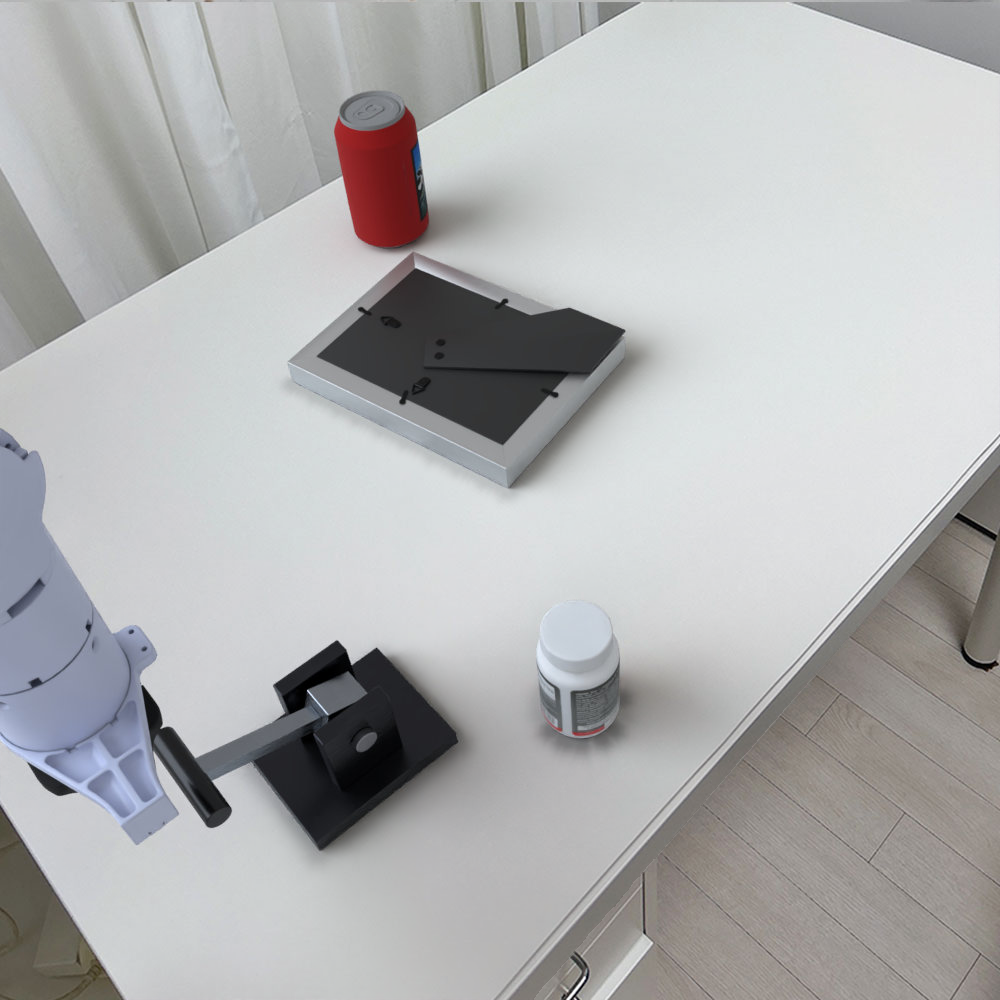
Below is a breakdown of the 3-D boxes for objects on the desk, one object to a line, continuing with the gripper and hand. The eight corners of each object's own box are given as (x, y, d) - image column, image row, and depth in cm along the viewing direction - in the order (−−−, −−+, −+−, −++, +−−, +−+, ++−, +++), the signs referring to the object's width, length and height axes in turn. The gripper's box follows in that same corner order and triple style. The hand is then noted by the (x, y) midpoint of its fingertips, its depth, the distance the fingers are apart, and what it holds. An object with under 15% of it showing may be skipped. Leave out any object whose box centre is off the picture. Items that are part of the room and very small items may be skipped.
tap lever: (205, 838, 55) (207, 809, 54) (148, 757, 58) (148, 727, 57) (384, 746, 62) (390, 718, 60) (324, 677, 65) (329, 649, 64)
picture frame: (625, 357, 86) (416, 271, 94) (625, 329, 83) (411, 243, 92) (508, 488, 78) (292, 381, 86) (505, 461, 76) (284, 354, 84)
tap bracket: (319, 851, 62) (293, 799, 57) (245, 754, 66) (214, 697, 61) (458, 742, 65) (446, 683, 60) (379, 657, 70) (361, 595, 64)
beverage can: (446, 227, 98) (430, 103, 89) (390, 264, 95) (368, 140, 86) (394, 199, 101) (374, 77, 92) (339, 234, 98) (312, 112, 89)
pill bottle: (628, 681, 67) (631, 604, 61) (607, 749, 64) (607, 675, 58) (553, 662, 68) (549, 584, 62) (530, 728, 66) (522, 653, 59)
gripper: (201, 692, 41) (282, 839, 51) (35, 477, 49) (135, 644, 59) (26, 812, 38) (148, 942, 49) (-120, 566, 46) (13, 724, 56)
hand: (133, 785), depth 54 cm, fingers closed
